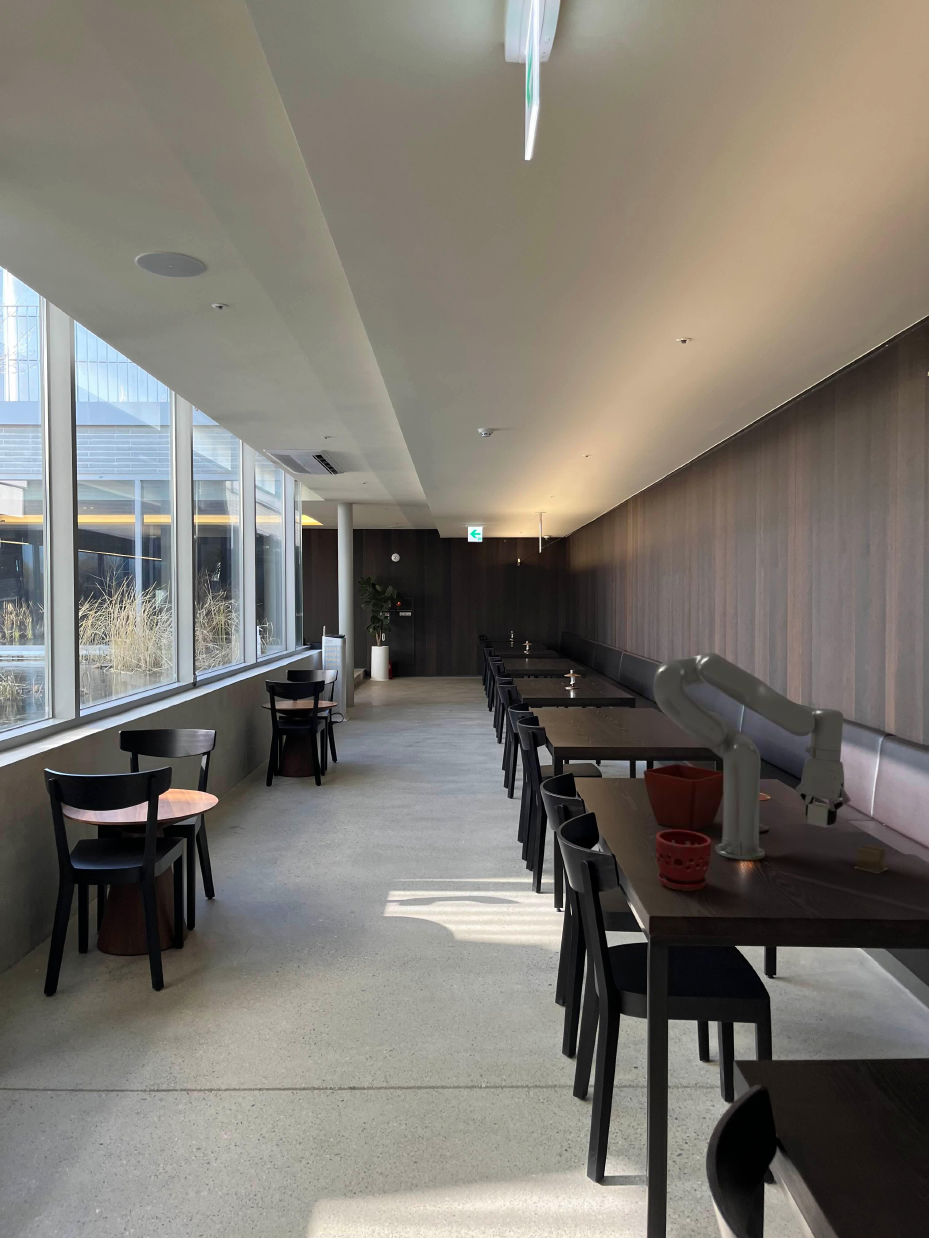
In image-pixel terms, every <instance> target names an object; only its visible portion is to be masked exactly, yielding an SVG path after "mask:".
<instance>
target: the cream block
mask: <svg viewBox="0 0 929 1238" xmlns="http://www.w3.org/2000/svg"><path fill="white" fill-rule="evenodd" d="M828 810H830V805H829V804H826V803H820V802H816V801H815V802H813V803H812V804H808V814H807V816H806V817H807V819H806V823H807V824H810V825H814V826H817V827H821V828H828V827H832V826H834V825H835V824H833V825H828V824H827V819H828Z"/></svg>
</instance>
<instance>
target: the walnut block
mask: <svg viewBox="0 0 929 1238" xmlns="http://www.w3.org/2000/svg"><path fill="white" fill-rule="evenodd" d="M856 866H857V868H856V869H858V868H861V869H860V870H862V869H865V870H864V871H866V870H870V871H869V872H871V871H874V872H873V873H875V872H879V871H881V870H883V869H885V868H886V848H884V847H883V848H882V847H878V846H872V845H870V844H869V845H868V844H863V845H861V846H858V847H857V849H856Z"/></svg>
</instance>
